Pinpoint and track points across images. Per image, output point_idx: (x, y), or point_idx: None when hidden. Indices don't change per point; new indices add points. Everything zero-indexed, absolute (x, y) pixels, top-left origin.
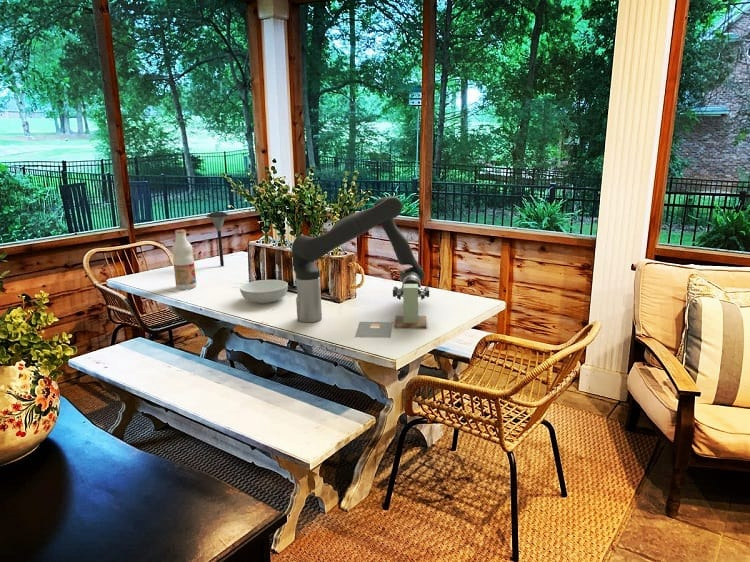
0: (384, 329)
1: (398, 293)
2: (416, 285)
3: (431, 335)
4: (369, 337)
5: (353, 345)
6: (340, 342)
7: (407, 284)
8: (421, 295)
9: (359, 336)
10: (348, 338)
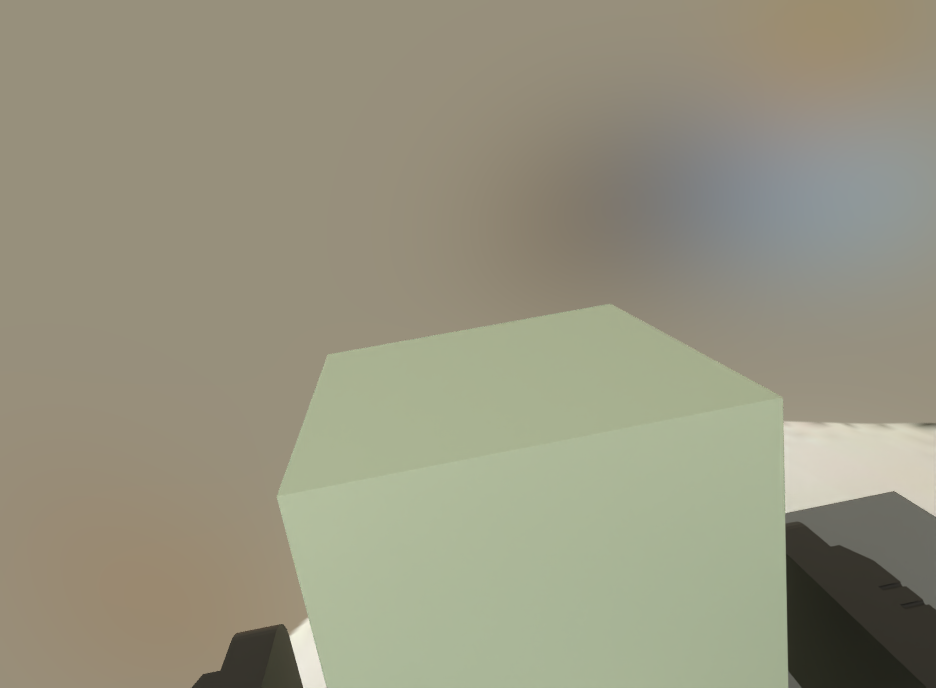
0: None
1: (920, 635)
2: (344, 411)
3: (311, 662)
4: (789, 513)
5: (792, 435)
6: (904, 437)
7: (622, 400)
8: (277, 633)
9: (876, 507)
10: (923, 478)
